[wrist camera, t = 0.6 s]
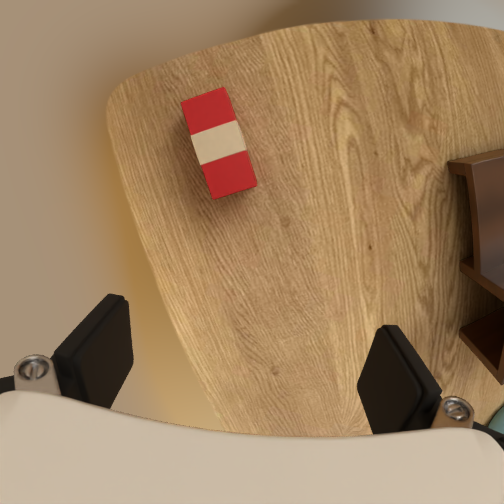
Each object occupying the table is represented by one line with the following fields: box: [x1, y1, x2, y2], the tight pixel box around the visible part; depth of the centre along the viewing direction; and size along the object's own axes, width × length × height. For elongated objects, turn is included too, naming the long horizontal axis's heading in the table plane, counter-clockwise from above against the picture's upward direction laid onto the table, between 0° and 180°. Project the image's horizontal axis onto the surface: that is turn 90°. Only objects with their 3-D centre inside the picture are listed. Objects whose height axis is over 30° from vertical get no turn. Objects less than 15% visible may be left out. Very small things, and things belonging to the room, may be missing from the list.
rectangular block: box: [181, 87, 257, 200], centre depth 23 cm, size 8×4×3 cm, turn 18°
